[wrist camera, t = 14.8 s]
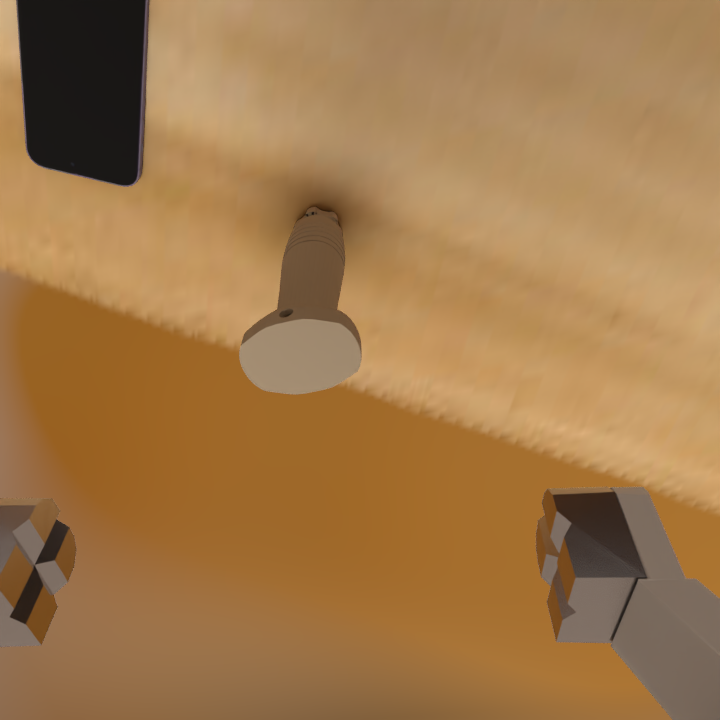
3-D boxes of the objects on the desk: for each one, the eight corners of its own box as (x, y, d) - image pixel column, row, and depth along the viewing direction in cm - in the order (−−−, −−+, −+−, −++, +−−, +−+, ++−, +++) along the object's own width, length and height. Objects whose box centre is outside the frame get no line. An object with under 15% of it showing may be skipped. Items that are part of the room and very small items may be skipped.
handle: (264, 206, 44) (225, 335, 32) (353, 182, 43) (345, 308, 31) (288, 264, 47) (260, 402, 35) (371, 244, 46) (371, 380, 34)
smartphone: (151, -70, 34) (139, 190, 42) (156, -72, 34) (143, 184, 43) (7, -113, 33) (25, 164, 41) (17, -113, 33) (33, 158, 42)
